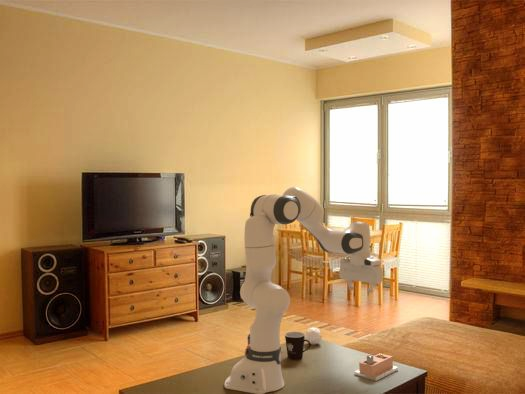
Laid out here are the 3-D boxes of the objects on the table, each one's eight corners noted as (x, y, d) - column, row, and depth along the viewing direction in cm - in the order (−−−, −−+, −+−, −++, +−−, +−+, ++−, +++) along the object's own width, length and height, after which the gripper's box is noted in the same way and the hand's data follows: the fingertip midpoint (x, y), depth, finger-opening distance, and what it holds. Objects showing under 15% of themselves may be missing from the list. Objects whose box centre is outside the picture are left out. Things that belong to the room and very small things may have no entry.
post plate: (376, 381, 203) (376, 361, 203) (354, 374, 210) (354, 355, 210) (398, 370, 214) (397, 351, 214) (376, 364, 221) (376, 346, 221)
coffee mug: (281, 356, 234) (281, 333, 233) (299, 353, 237) (298, 330, 237) (294, 364, 223) (294, 340, 223) (312, 360, 227) (312, 337, 226)
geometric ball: (316, 348, 252) (325, 334, 254) (315, 347, 245) (324, 332, 246) (302, 339, 254) (311, 325, 256) (301, 338, 247) (310, 323, 249)
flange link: (372, 376, 205) (372, 365, 205) (359, 372, 209) (359, 362, 209) (392, 366, 215) (392, 356, 215) (380, 362, 219) (379, 353, 219)
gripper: (336, 258, 234) (336, 289, 234) (376, 262, 219) (376, 296, 220) (344, 256, 238) (345, 287, 239) (384, 260, 224) (385, 293, 224)
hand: (360, 291), depth 229 cm, fingers open, 8 cm apart
